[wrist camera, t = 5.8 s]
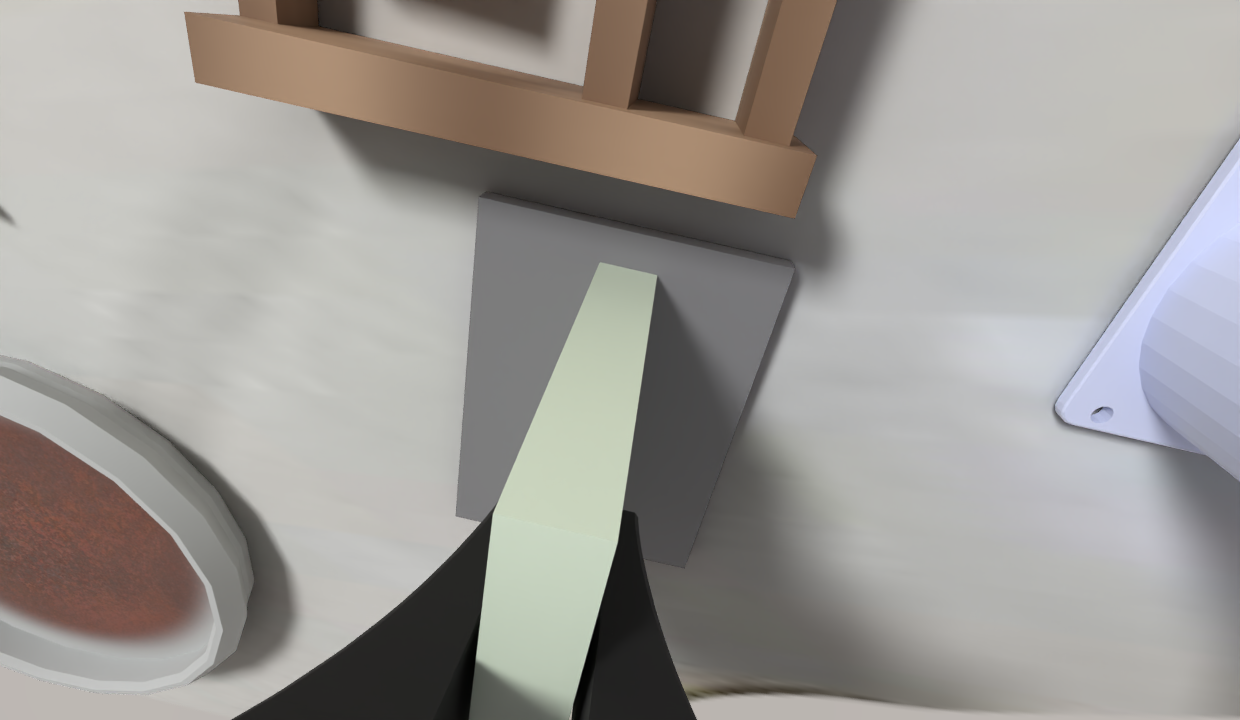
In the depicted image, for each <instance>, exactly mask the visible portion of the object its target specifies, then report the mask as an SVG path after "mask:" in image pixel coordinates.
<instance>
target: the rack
mask: <svg viewBox="0 0 1240 720" xmlns="http://www.w3.org/2000/svg"><path fill="white" fill-rule="evenodd" d="M238 2H239V11H240V16H238V15H223V14H209V13H194V12H184V13H185V20H186V26H187V32H188V39H189V45H190V51H191V58H192V64H193V70H194V77H195V82H196V83H200V84H204V85H209V86H213V87H218V88H222V89H226V90H231V91H235V92H240V93H244V94H248V95H253V96H257V97H262V98H266V99H270V100H275V101H279V102H284V103H288V104H292V105H297V106H301V107H306V108H310V109H314V110H319V111H323V112H328V113H332V114H336V115H341V116H345V117H350V118H354V119H358V120H363V121H367V122H372V123H376V124H380V125H385V126H389V127H394V128H398V129H402V130H407V131H411V132H416V133H420V134H424V135H429V136H433V137H438V138H442V139H446V140H451V141H455V142H460V143H464V144H468V145H473V146H477V147H482V148H486V149H490V150H495V151H499V152H504V153H508V154H512V155H517V156H521V157H526V158H530V159H534V160H539V161H543V162H548V163H552V164H556V165H561V166H565V167H570V168H574V169H579V170H583V171H587V172H592V173H596V174H601V175H605V176H609V177H614V178H618V179H623V180H627V181H631V182H636V183H640V184H645V185H649V186H653V187H658V188H662V189H667V190H671V191H675V192H680V193H684V194H689V195H693V196H697V197H702V198H706V199H711V200H715V201H719V202H724V203H728V204H733V205H737V206H741V207H746V208H750V209H755V210H759V211H763V212H768V213H772V214H777V215H781V216H785V217H790V218H794V219H795V217H796V214H797V211H798V208H799V205H800V203H801V200H802V197H803V194H804V191H805V188H806V186H807V183H808V180H809V177H810V174H811V171H812V169H813V166H814V163H815V160H816V157H817V155H816V154H815V153H813V152H812V151H811V150H810V149H809V148H808V147H807V146H805V145H804V144H803V143H802V142H801V141H800V140H799V139H797V138H796V137H795V136H794V135H793V133H794V130H795V127H796V124H797V121H798V118H799V115H800V112H801V109H802V106H803V103H804V100H805V97H806V94H807V91H808V88H809V84H810V81H811V78H812V75H813V72H814V69H815V66H816V63H817V60H818V57H819V54H820V51H821V48H822V45H823V42H824V39H825V36H826V33H827V30H828V26H829V23H830V20H831V17H832V14H833V11H834V8H835V5H836V2H837V0H768V4H767V7H766V11H765V15H764V18H763V22H762V25H761V29H760V33H759V36H758V40H757V43H756V47H755V51H754V54H753V58H752V62H751V65H750V69H749V72H748V76H747V80H746V83H745V87H744V90H743V94H742V98H741V101H740V105H739V109H738V112H737V116H736V119H735V121H733V120H729V119H724V118H720V117H716V116H711V115H707V114H702V113H698V112H694V111H689V110H685V109H680V108H676V107H672V106H667V105H663V104H658V103H654V102H650V101H645V100H641V99H638V95H639V90H640V85H641V80H642V75H643V70H644V64H645V59H646V54H647V49H648V44H649V39H650V34H651V28H652V23H653V18H654V13H655V8H656V3H657V0H596V6H595V13H594V20H593V26H592V33H591V40H590V46H589V53H588V60H587V67H586V73H585V80H584V86H579V85H575V84H570V83H566V82H561V81H557V80H553V79H548V78H544V77H539V76H535V75H531V74H526V73H522V72H517V71H513V70H509V69H504V68H500V67H495V66H491V65H487V64H482V63H478V62H473V61H469V60H465V59H460V58H456V57H451V56H447V55H443V54H438V53H434V52H429V51H425V50H421V49H416V48H412V47H407V46H403V45H399V44H394V43H390V42H385V41H381V40H377V39H372V38H368V37H363V36H359V35H355V34H350V33H346V32H341V31H337V30H333V29H328V28H324V27H319V23H318V6H317V0H238Z"/></svg>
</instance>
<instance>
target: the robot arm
mask: <svg viewBox="0 0 1240 720" xmlns="http://www.w3.org/2000/svg"><path fill="white" fill-rule="evenodd" d="M1100 407H1103V409H1102V410H1101V411H1099V412H1098V413H1096V414H1093V415H1091V414H1092V412H1093V411H1095V410H1096V409H1098V408H1100ZM1055 411H1056V412H1057V414H1058V415H1059V416H1060V417H1061V418H1062V419H1063V420H1064V421H1065V422H1066V423H1069V424H1071V425H1075V426H1079V427H1084V428H1088V429H1092V430H1097V431H1101V432H1106V433H1110V434H1114V435H1119V436H1123V437H1128V438H1132V439H1137V440H1141V441H1145V442H1150V443H1154V444H1159V445H1163V446H1167V447H1172V448H1176V449H1181V450H1185V451H1189V452H1194V453H1198V454H1203V455H1207V456H1208V457H1209V458H1211V459H1212V460H1213V461H1215V462H1216V463H1217V464H1218V465H1220V466H1221V467H1222V468H1223V469H1225V470H1226V471H1227V472H1228V473H1230V474H1231V475H1232V476H1233V477H1235V478H1236V479H1237V480H1238V481H1240V139H1239V140H1238V142H1237V143H1236V145H1235V146H1234V148H1233V149H1232V150H1231V152H1230V153H1229V155H1228V156H1227V158H1226V159H1225V160H1224V162H1223V163H1222V165H1221V166H1220V168H1219V169H1218V170H1217V172H1216V173H1215V175H1214V176H1213V178H1212V179H1211V180H1210V182H1209V183H1208V185H1207V186H1206V188H1205V189H1204V191H1203V192H1202V193H1201V195H1200V196H1199V198H1198V199H1197V201H1196V202H1195V203H1194V205H1193V206H1192V208H1191V209H1190V211H1189V212H1188V213H1187V215H1186V216H1185V218H1184V219H1183V221H1182V222H1181V223H1180V225H1179V226H1178V228H1177V229H1176V231H1175V232H1174V233H1173V235H1172V236H1171V238H1170V239H1169V241H1168V242H1167V244H1166V245H1165V246H1164V248H1163V249H1162V251H1161V252H1160V254H1159V255H1158V256H1157V258H1156V259H1155V261H1154V262H1153V264H1152V265H1151V266H1150V268H1149V269H1148V271H1147V272H1146V274H1145V275H1144V276H1143V278H1142V279H1141V281H1140V282H1139V284H1138V285H1137V286H1136V288H1135V289H1134V291H1133V292H1132V294H1131V295H1130V297H1129V298H1128V299H1127V301H1126V302H1125V304H1124V305H1123V307H1122V308H1121V309H1120V311H1119V312H1118V314H1117V315H1116V317H1115V318H1114V319H1113V321H1112V322H1111V324H1110V325H1109V327H1108V328H1107V329H1106V331H1105V332H1104V334H1103V335H1102V337H1101V338H1100V339H1099V341H1098V342H1097V344H1096V345H1095V347H1094V348H1093V350H1092V351H1091V352H1090V354H1089V355H1088V357H1087V358H1086V360H1085V361H1084V362H1083V364H1082V365H1081V367H1080V368H1079V370H1078V371H1077V372H1076V374H1075V375H1074V377H1073V378H1072V380H1071V381H1070V382H1069V384H1068V385H1067V387H1066V388H1065V390H1064V391H1063V393H1062V394H1061V395H1060V397H1059V398H1058V400H1057V402H1056V404H1055ZM497 503H498V502H497ZM497 503H496V505H497ZM496 505H495V506H494V507H493V509H492V510H491V511H490V512H489V514H488V515H487V516H486V517H485V519H484V520H483V521H482V522H481V523H480V525H479V526H478V527H477V528H476V529H475V530H474V531H473V533H472V534H471V535H470V536H469V537H468V538H467V539H466V540H465V541H464V542H463V543H462V545H461V546H460V547H459V548H458V549H457V550H456V551H455V552H454V553H453V554H452V555H451V556H450V557H449V558H448V559H447V560H446V561H445V562H444V563H443V564H442V565H441V566H440V567H439V568H438V569H437V570H436V571H435V572H434V573H433V574H432V575H431V576H430V577H429V578H428V579H427V580H426V581H425V582H424V583H423V584H422V585H421V586H419V587H418V588H417V589H416V590H415V591H414V592H413V593H412V594H411V595H409V596H408V597H407V598H406V599H405V600H404V601H403V602H401V603H400V604H399V605H398V606H397V607H395V608H394V609H393V610H392V611H391V612H390V613H388V614H387V615H386V616H385V617H383V618H382V619H381V620H380V621H378V622H377V623H376V624H375V625H373V626H372V627H371V628H369V629H368V630H367V631H366V632H364V633H363V634H362V635H360V636H359V637H358V638H356V639H355V640H354V641H353V642H351V643H350V644H348V645H347V646H346V647H344V648H343V649H342V650H340V651H339V652H337V653H336V654H335V655H333V656H332V657H330V658H329V659H327V660H326V661H324V662H323V663H321V664H320V665H318V666H317V667H315V668H314V669H312V670H311V671H309V672H308V673H306V674H305V675H303V676H302V677H300V678H299V679H297V680H296V681H294V682H293V683H291V684H290V685H288V686H287V687H285V688H284V689H282V690H281V691H279V692H277V693H276V694H274V695H273V696H271V697H269V698H268V699H266V700H264V701H263V702H261V703H259V704H257V705H256V706H254V707H252V708H251V709H249V710H247V711H245V712H244V713H242V714H240V715H239V716H237V717H235V718H234V719H232V720H469V714H470V705H471V697H472V688H473V680H474V671H475V663H476V654H477V646H478V637H479V628H480V620H481V611H482V603H483V594H484V586H485V577H486V569H487V560H488V552H489V543H490V535H491V526H492V518H493V513H494V510H495V508H496ZM572 720H697V719H696V717H695V715H694V713H693V710H692V708H691V705H690V703H689V701H688V698H687V696H686V694H685V691H684V689H683V687H682V684H681V682H680V679H679V677H678V674H677V672H676V669H675V666H674V664H673V661H672V658H671V656H670V653H669V650H668V647H667V644H666V641H665V638H664V635H663V632H662V629H661V626H660V623H659V620H658V616H657V613H656V609H655V606H654V602H653V598H652V594H651V590H650V586H649V583H648V579H647V574H646V570H645V565H644V560H643V554H642V549H641V542H640V535H639V524H638V516H637V515H636V514H635V512H631V511H627V510H622V517H621V523H620V530H619V537H618V543H617V547H616V550H615V554H614V557H613V561H612V565H611V568H610V572H609V576H608V579H607V583H606V587H605V590H604V594H603V597H602V601H601V605H600V608H599V612H598V616H597V619H596V623H595V626H594V630H593V634H592V637H591V641H590V645H589V648H588V652H587V655H586V659H585V663H584V666H583V670H582V674H581V677H580V681H579V685H578V688H577V692H576V695H575V699H574V703H573V710H572Z"/></svg>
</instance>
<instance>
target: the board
mask: <svg viewBox="0 0 1240 720" xmlns="http://www.w3.org/2000/svg"><path fill="white" fill-rule="evenodd" d="M656 280H657V275H654V274H650V273H645V272H641V271H637V270H632V269H628V268H623V267H619V266H615V265H610V264H606V263H601V262H600V263H599V265H598V268H597V270H596V272H595V275H594V277H593V279H592V282H591V284H590V286H589V289H588V291H587V294H586V296H585V298H584V301H583V303H582V305H581V308H580V310H579V312H578V315H577V317H576V319H575V322H574V324H573V326H572V329H571V331H570V334H569V336H568V338H567V341H566V343H565V345H564V348H563V350H562V352H561V355H560V357H559V359H558V362H557V364H556V367H555V369H554V371H553V374H552V376H551V378H550V381H549V383H548V385H547V388H546V390H545V392H544V395H543V397H542V399H541V402H540V404H539V407H538V409H537V411H536V414H535V416H534V418H533V421H532V423H531V425H530V428H529V430H528V432H527V435H526V437H525V440H524V442H523V444H522V447H521V449H520V451H519V454H518V456H517V458H516V461H515V463H514V465H513V468H512V470H511V472H510V475H509V477H508V480H507V482H506V484H505V487H504V489H503V491H502V494H501V496H500V498H499V501H498V503H497V505H496V508H495V510H494V513H493V518H492V526H491V535H490V543H489V552H488V560H487V569H486V577H485V586H484V594H483V603H482V611H481V620H480V628H479V637H478V646H477V654H476V663H475V671H474V680H473V688H472V697H471V705H470V714H469V720H569V717H570V714H571V710H572V706H573V703H574V699H575V695H576V692H577V688H578V685H579V681H580V677H581V674H582V670H583V666H584V663H585V659H586V655H587V652H588V648H589V645H590V641H591V637H592V634H593V630H594V626H595V623H596V619H597V616H598V612H599V608H600V605H601V601H602V597H603V594H604V590H605V587H606V583H607V579H608V576H609V572H610V568H611V565H612V561H613V557H614V554H615V550H616V547H617V543H618V537H619V530H620V523H621V517H622V510H623V503H624V496H625V490H626V483H627V476H628V469H629V463H630V456H631V449H632V442H633V436H634V429H635V422H636V415H637V409H638V402H639V395H640V388H641V382H642V375H643V368H644V361H645V355H646V348H647V341H648V334H649V328H650V321H651V314H652V307H653V301H654V294H655V287H656Z"/></svg>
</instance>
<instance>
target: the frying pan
mask: <svg viewBox="0 0 1240 720" xmlns="http://www.w3.org/2000/svg"><path fill="white" fill-rule="evenodd" d="M253 584H254V576H253V571H252V566H251V561H250V556H249V551H248V546H247V541H246V538H245V536H244V535H243V533H242V531H241V530H240V528H239V526H238V525H237V523H236V521H235V519H234V518H233V516H232V514H231V513H230V511H229V509H228V508H227V506H226V504H225V503H224V501H223V499H222V498H221V496H220V494H219V493H218V491H217V490H216V489H215V488H214V487H213V486H212V485H211V484H210V483H209V482H208V481H207V480H206V478H205V477H204V476H203V475H202V474H201V473H200V472H199V471H198V470H197V469H196V468H195V467H194V466H193V465H192V464H191V463H190V462H189V461H188V460H187V459H186V458H185V457H184V456H183V455H182V454H181V453H180V452H179V451H178V450H177V449H176V448H175V447H174V446H173V445H172V444H171V443H170V442H169V441H168V440H167V439H166V438H164V437H163V436H161V435H160V434H158V433H157V432H156V431H154V430H153V429H151V428H150V427H148V426H147V425H146V424H144V423H143V422H141V421H140V420H138V419H137V418H135V417H134V416H133V415H131V414H130V413H128V412H127V411H125V410H124V409H123V408H121V407H120V406H118V405H117V404H115V403H114V402H112V401H111V400H110V399H108V398H107V397H105V396H104V395H102V394H100V393H98V392H96V391H93V390H91V389H89V388H87V387H85V386H82V385H80V384H78V383H76V382H74V381H71V380H69V379H67V378H65V377H62V376H60V375H58V374H56V373H54V372H51V371H49V370H47V369H45V368H43V367H40V366H38V365H36V364H34V363H32V362H29V361H25V360H21V359H16V358H11V357H7V356H2V355H0V666H2V667H5V668H8V669H10V670H13V671H16V672H18V673H21V674H24V675H27V676H29V677H32V678H34V679H37V680H40V681H44V682H48V683H53V684H58V685H62V686H66V687H71V688H75V689H80V690H84V691H89V692H93V693H104V694H132V695H149V694H153V693H157V692H161V691H166V690H170V689H174V688H178V687H182V686H186V685H188V684H190V683H192V682H194V681H195V680H197V679H199V678H201V677H202V676H204V675H206V674H208V673H209V672H210V671H212V670H213V669H214V668H215V667H217V666H218V665H219V664H220V663H222V662H223V661H224V660H225V659H227V658H228V657H229V656H230V655H232V654H233V653H234V652H235V651H236V650H237V647H238V644H239V640H240V637H241V634H242V631H243V628H244V625H245V621H246V618H247V604H248V600H249V597H250V594H251V591H252V587H253Z"/></svg>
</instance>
